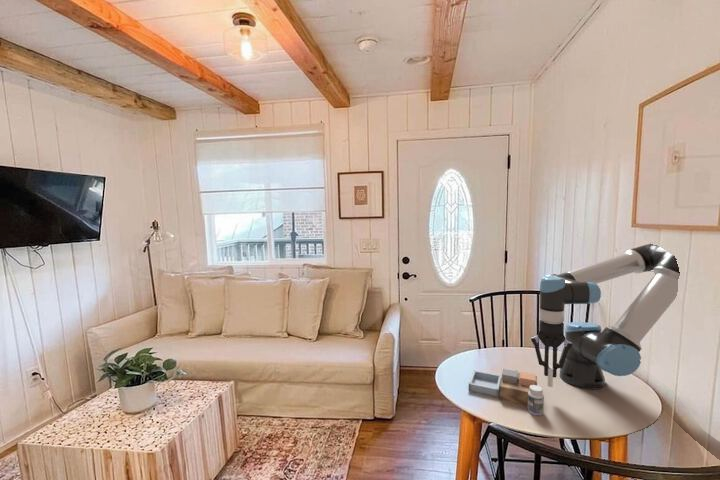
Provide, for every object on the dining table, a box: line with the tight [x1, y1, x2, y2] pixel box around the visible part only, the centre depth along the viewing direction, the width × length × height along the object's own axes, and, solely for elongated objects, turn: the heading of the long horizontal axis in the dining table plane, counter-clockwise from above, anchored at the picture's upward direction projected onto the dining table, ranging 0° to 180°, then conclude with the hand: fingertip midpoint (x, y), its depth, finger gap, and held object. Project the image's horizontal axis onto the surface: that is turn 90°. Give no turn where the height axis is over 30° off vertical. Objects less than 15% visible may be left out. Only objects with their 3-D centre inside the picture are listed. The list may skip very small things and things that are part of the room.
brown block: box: [499, 371, 538, 406], centre depth 124 cm, size 12×14×5 cm
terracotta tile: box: [519, 371, 537, 386], centre depth 123 cm, size 5×5×2 cm
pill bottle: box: [527, 384, 545, 416], centre depth 113 cm, size 5×5×8 cm
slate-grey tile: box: [501, 368, 519, 384], centre depth 126 cm, size 5×5×2 cm
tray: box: [468, 370, 502, 398], centre depth 130 cm, size 11×12×3 cm
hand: (550, 384), depth 119 cm, fingers closed
